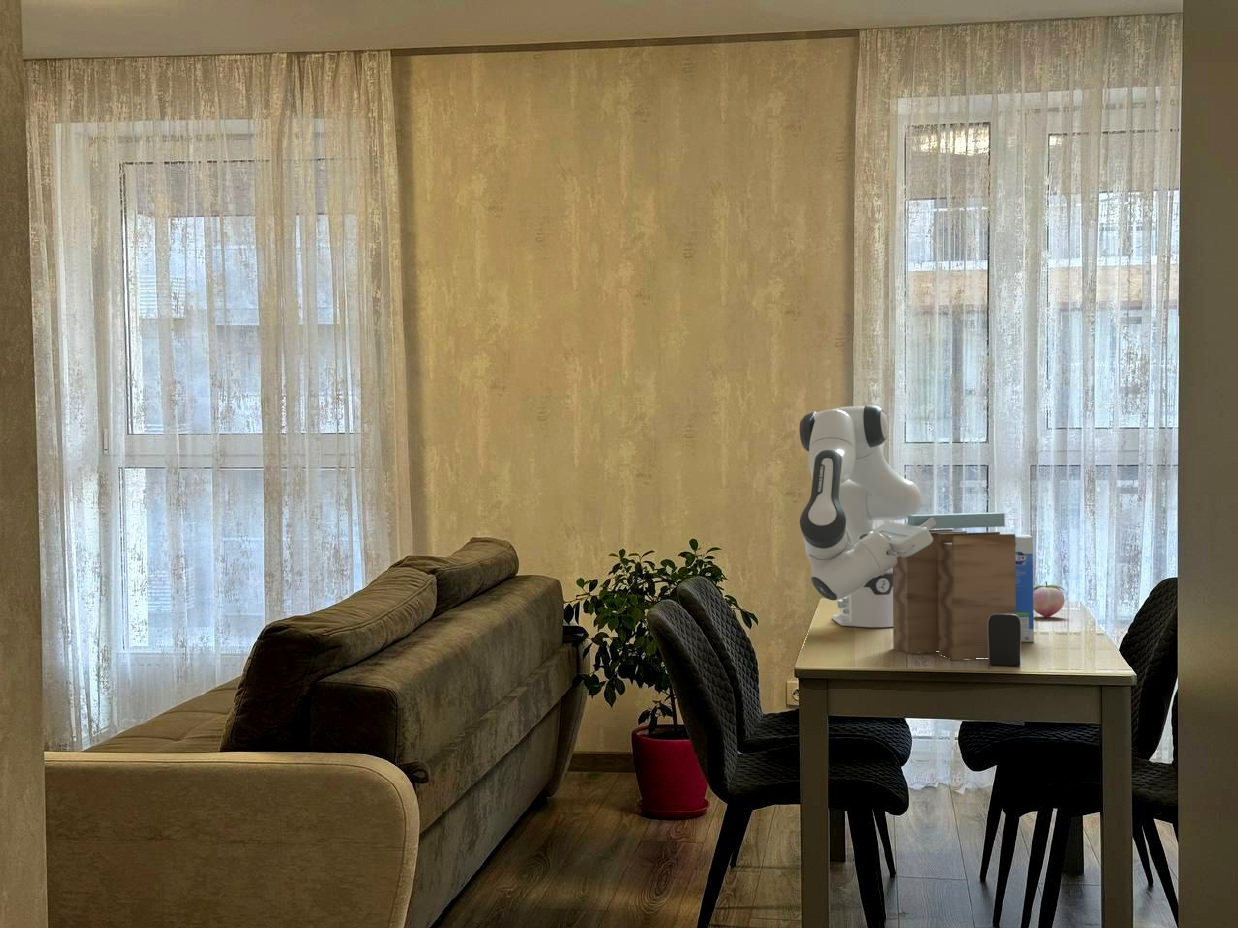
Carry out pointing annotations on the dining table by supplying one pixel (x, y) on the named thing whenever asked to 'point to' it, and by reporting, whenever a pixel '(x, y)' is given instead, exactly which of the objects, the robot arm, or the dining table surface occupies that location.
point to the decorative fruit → (1047, 599)
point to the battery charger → (1004, 639)
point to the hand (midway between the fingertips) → (928, 519)
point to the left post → (917, 599)
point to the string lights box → (1024, 585)
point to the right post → (973, 589)
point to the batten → (960, 520)
